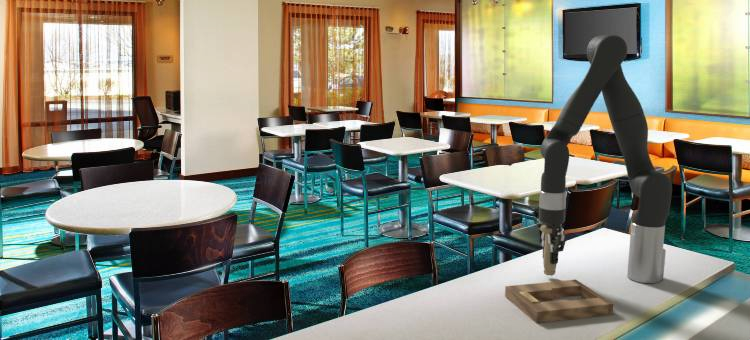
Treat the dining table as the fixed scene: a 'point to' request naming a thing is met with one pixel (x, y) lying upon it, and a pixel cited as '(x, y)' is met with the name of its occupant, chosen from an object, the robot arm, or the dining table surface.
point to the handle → (548, 252)
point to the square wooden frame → (558, 301)
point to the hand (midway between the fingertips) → (550, 260)
